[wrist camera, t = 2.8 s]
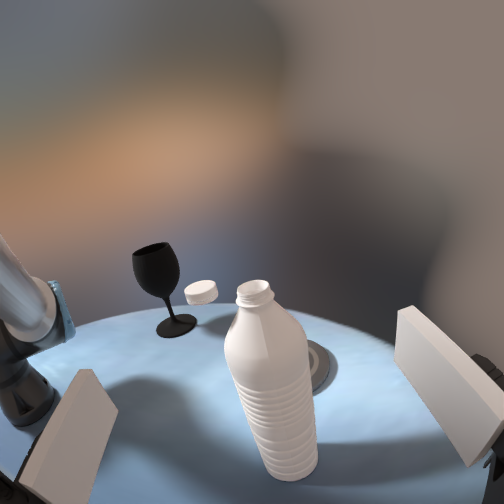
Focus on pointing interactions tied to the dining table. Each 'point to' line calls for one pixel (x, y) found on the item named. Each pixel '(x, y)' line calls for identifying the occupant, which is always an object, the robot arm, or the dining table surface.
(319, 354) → the slate coaster
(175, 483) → the dining table surface
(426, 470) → the dining table surface
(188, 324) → the wine glass
